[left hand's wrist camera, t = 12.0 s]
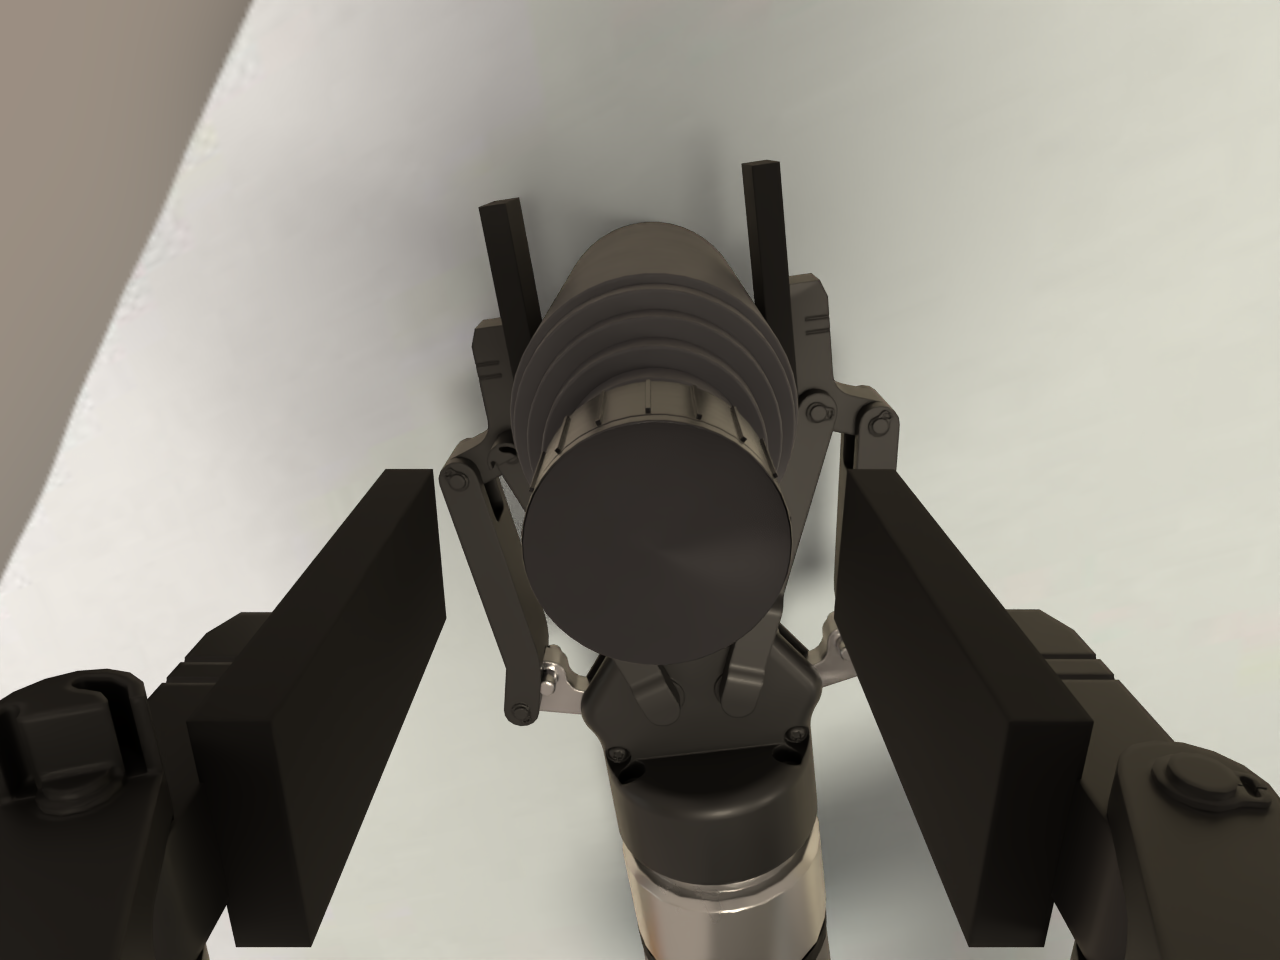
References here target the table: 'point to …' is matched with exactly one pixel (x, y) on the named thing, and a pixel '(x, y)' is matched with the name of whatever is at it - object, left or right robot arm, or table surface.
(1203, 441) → the table surface
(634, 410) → the cap
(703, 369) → the bottle
